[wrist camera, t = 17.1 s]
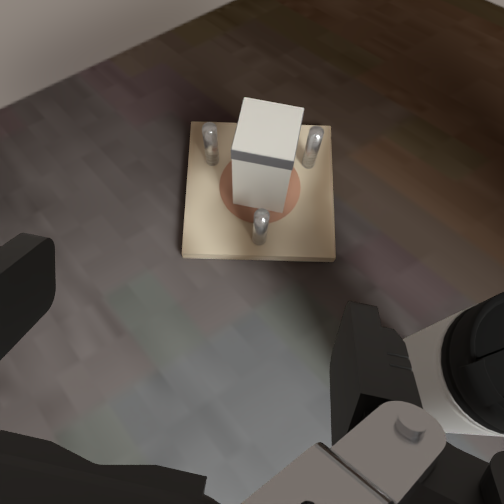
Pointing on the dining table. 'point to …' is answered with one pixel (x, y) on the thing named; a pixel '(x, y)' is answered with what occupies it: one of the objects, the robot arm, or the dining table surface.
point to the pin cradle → (253, 219)
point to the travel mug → (463, 369)
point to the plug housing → (264, 153)
